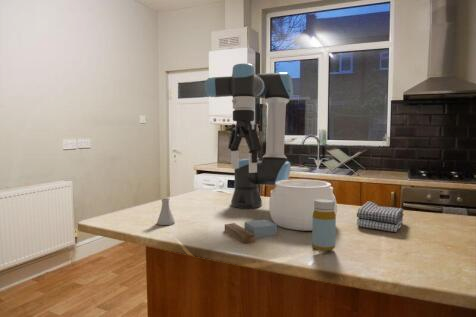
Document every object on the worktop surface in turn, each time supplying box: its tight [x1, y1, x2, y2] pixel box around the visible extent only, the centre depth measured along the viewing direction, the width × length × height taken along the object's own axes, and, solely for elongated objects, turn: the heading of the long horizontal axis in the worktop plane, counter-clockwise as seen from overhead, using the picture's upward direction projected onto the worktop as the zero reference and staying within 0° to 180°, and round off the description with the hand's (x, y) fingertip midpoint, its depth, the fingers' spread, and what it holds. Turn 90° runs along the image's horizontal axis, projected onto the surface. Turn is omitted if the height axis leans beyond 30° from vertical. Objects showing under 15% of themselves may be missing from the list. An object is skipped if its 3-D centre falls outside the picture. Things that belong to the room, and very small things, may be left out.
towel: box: [356, 200, 405, 233], centre depth 131 cm, size 15×18×8 cm
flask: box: [156, 197, 176, 226], centre depth 133 cm, size 7×7×10 cm
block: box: [224, 222, 256, 244], centre depth 116 cm, size 4×16×2 cm, turn 26°
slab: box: [244, 219, 278, 239], centre depth 120 cm, size 4×8×9 cm
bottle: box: [311, 199, 337, 252], centre depth 104 cm, size 7×7×15 cm
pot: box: [268, 178, 338, 232], centre depth 133 cm, size 29×26×16 cm
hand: (243, 170), depth 118 cm, fingers open, 13 cm apart
